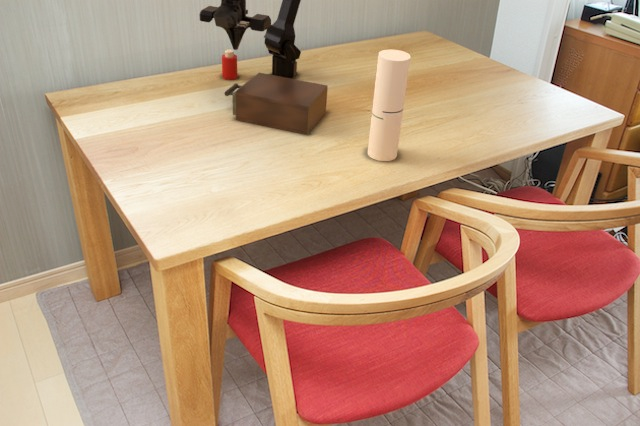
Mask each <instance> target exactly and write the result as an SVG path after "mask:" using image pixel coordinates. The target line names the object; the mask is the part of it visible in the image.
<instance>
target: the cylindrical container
mask: <svg viewBox="0 0 640 426" xmlns="http://www.w3.org/2000/svg"><path fill="white" fill-rule="evenodd" d="M410 64H411V55H410V53H408V52H406V51H403V50H401V49H383V50H380V51H378V56H377V66H376V72H375V73H376V75H375V84H374V92H373V100H372V109H371V119H370V126H369V136H368V145H367V155H368V157H370V158H371V159H373V160H375V161H379V162H389V161H390V162H391V161H394V160H395V159H396V158H397V156H398V150H399V144H400V143H399V142H400V135H401V129H402V128H401V127H402V121H403V114H404V106H405V100H406V93H407V85H408V77H409V72H410V71H409V70H410Z"/></svg>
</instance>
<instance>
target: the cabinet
mask: <svg viewBox="0 0 640 426" xmlns="http://www.w3.org/2000/svg"><path fill="white" fill-rule="evenodd" d="M253 76H254V77H253ZM253 76H252V77H253V78H252V77H251V78H252V79H251V78H250V79H251V80H250V79H248V80H249V81H248V80H247V81H248V82H247V81H246V82H247V83H246V82H245V83H246V84H245V83H244V84H245V85H244V84H242V85H243V86H242V85H241V86H242V87H241V88H240V89H239V88H238V89H239V90H238V89H236V90H237V91H236V90H235V91H236V115H235V120H236V121H241V122H245V123H249V124H253V125H258V126H259V125H260V126H264V127H268V128H273V129H278V130H283V131H287V132H291V133H296V134H301V135H306V136H307V135H308V134H309V133H310V132H311V131H312V130H313V129H314V127H315V126H316V125H317V124H318V122H319V121H320V120H321V119H322V118H323V117H324V115H325V114H326V113H327V103H328V85H326V84H321V83H317V82H313V81H312V82H311V81H306V80H300V79H296V78H292V79H291V78H286V77H280V76H275V75H271V74H270V73H264V72H258V73H256V74H255V75H253Z"/></svg>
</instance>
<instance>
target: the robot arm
mask: <svg viewBox="0 0 640 426" xmlns="http://www.w3.org/2000/svg"><path fill="white" fill-rule="evenodd" d="M220 1H221V2H220V5H219V6H213V5H208V6H206V7H205V8H203V9H201V10H200V11H199V21H200V22H204V23H211V22H212V21H213V19H214V23H215V26H216V27H219V28H222V29H223V30H224V31H225V32H226V34H227V36H228V38H229V41H230V44H231V47H232V50H234V51H238V49H239V47H240V44H241V42H242V40H243V37H244V35H245V33H246V31H247V29H250V30H251V31H255V32H265V34H264V36H263V38H264V45H265V47H266V49H267V51H268V52H267V53H268V54H270V55H271V57H272V61H271V68H272V69H271V74H270V75H275V76H280V77H286V78H291V79H294V78H295V77H296V75H298V72H297V71H298V62H297V60H299V59H300V57H301V54H302V53H301V52H302V51H301V50H300V48H298V46H297V45H295V42H296V31H295V26H294V25H295V22H296V17H297V14H298V11H299V8H300V5H301V1H302V0H282V2H281V5H280V8H279V11H278V15H277V18H276V20H275V21H274V22H273V23H272V18H271V17H270V16H269V15H266V14H261V13H256V14H255V15H253V16H248V15H249V10H248V9H247V0H220Z"/></svg>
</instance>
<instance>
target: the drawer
mask: <svg viewBox="0 0 640 426" xmlns="http://www.w3.org/2000/svg"><path fill="white" fill-rule="evenodd" d="M254 76H255V75H253V76H252V77H250V78H249V79H248V80H247V81H246V82H244V84H242V85H239V84H238V83H234V84H232V85H230V87H228V88H227V89H226V90H225V91H224V93H223V94H224V96H225V97H229V96H231V97H232V115H233V116H236V91H237V90H239V89H240V88H241V87H242V86H243V85H245V84H246V83H247V82H248V81H249V80H251V79H252V78H253V77H254Z"/></svg>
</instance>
